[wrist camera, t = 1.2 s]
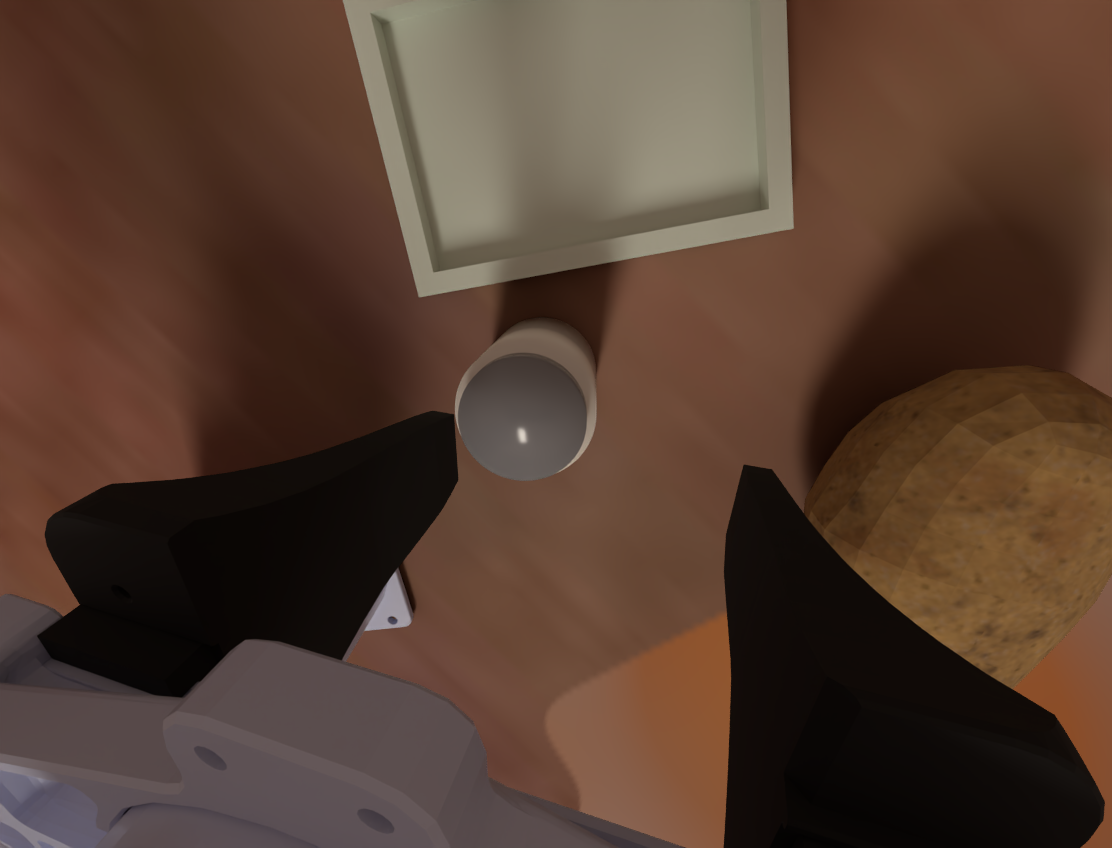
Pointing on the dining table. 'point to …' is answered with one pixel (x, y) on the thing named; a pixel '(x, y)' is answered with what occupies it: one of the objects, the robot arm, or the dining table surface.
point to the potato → (979, 509)
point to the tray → (575, 129)
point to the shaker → (529, 400)
